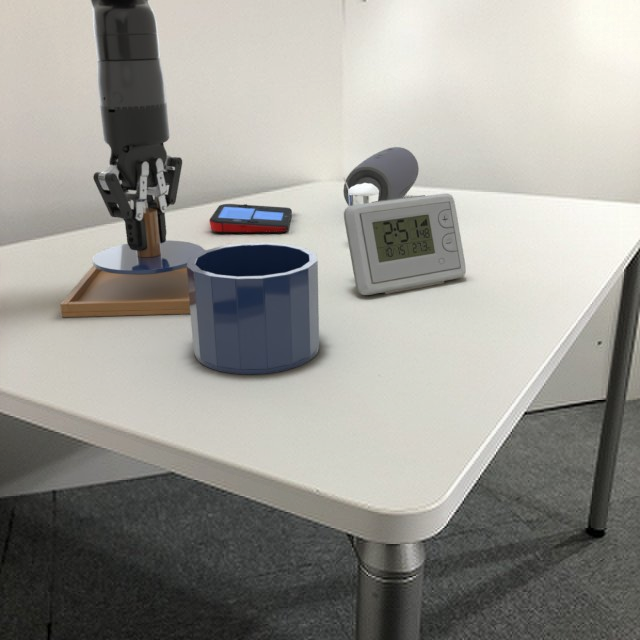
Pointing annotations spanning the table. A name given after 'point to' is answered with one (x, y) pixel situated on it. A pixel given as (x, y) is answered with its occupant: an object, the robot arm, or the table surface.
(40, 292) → the table surface
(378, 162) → the bluetooth speaker
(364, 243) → the digital clock
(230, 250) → the pot
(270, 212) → the game console
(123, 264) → the pot lid
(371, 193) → the milkshake
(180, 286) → the wooden tray
